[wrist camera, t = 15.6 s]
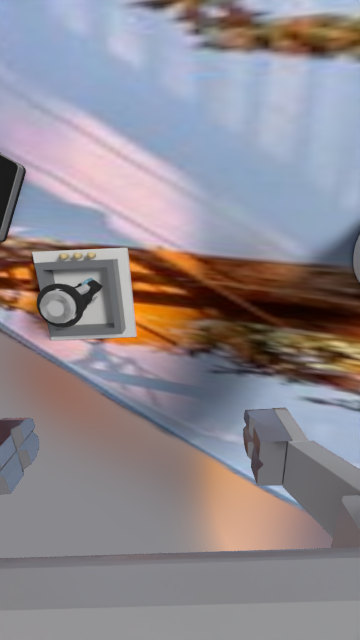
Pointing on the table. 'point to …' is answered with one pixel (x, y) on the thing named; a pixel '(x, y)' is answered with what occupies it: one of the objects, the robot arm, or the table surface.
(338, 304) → the table surface
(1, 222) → the external hard drive
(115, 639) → the robot arm
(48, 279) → the dock
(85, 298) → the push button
